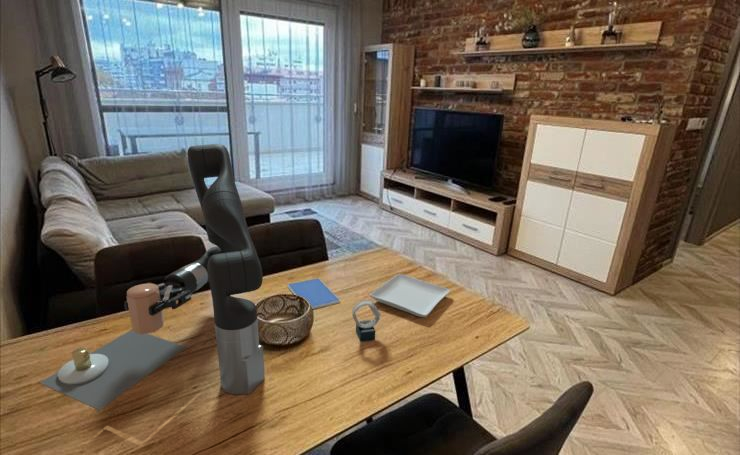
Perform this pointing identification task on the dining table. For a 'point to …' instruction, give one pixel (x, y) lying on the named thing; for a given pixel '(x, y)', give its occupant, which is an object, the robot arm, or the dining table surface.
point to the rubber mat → (120, 368)
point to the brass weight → (81, 359)
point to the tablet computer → (314, 293)
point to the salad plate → (410, 294)
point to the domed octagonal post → (144, 308)
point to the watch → (366, 322)
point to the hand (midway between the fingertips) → (137, 309)
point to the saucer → (74, 377)
